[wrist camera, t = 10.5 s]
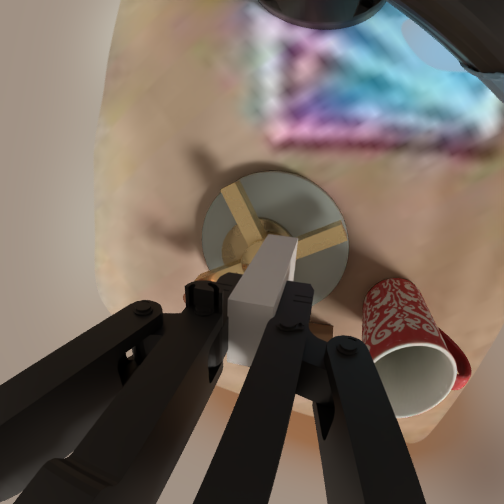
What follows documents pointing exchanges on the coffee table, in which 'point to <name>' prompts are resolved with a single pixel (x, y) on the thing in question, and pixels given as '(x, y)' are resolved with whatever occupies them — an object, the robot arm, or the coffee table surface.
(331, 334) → the brown angular block
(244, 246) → the cam capstan
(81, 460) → the robot arm
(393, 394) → the mug
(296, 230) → the stand plate
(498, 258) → the coffee table surface
